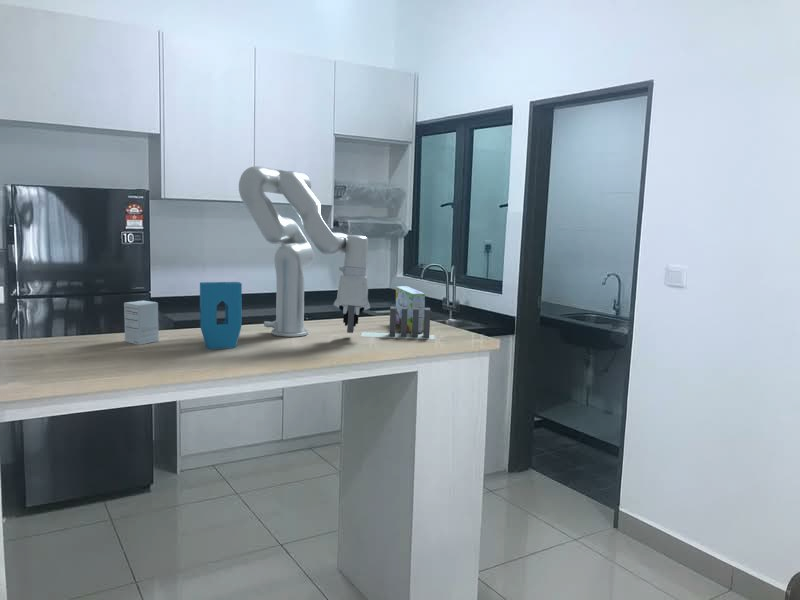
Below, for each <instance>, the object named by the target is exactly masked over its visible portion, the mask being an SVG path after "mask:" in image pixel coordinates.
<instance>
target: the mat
mask: <svg viewBox="0 0 800 600" xmlns="http://www.w3.org/2000/svg"><path fill="white" fill-rule="evenodd" d="M360 337H361V338H365V337H366V338H392V339H414V340H415V339H417V340H418V339H420V340H436V338H435V337H436V336H435V334H429V338H423V333H422V334H419V333H418V338H412V333H407V335H406V337H401V333H397V332H395V337H389V332H371V331H370V332H369V331H367V332H366V331H362V332H361V335H360Z"/></svg>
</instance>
